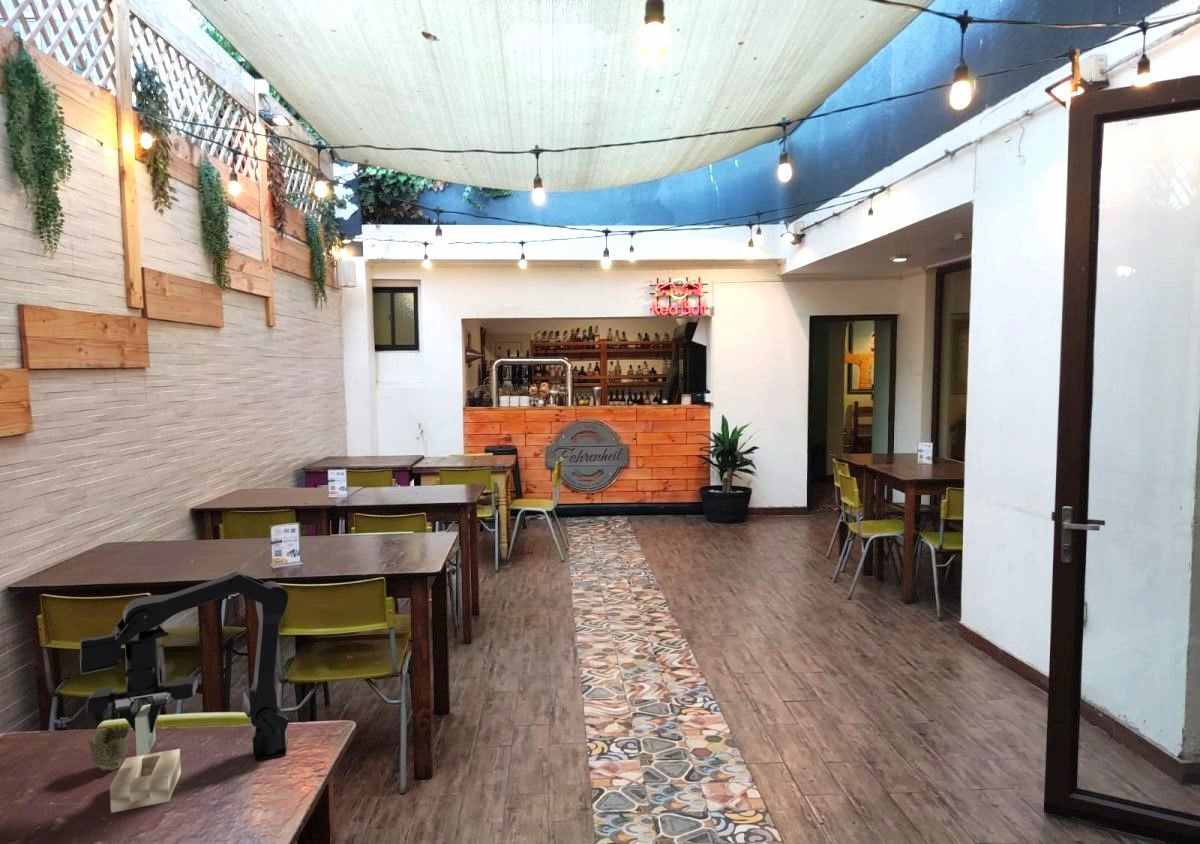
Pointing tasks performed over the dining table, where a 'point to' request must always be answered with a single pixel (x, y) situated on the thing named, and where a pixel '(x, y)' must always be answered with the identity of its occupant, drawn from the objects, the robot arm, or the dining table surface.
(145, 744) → the green rectangular block
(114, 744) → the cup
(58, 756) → the dining table surface
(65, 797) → the dining table surface
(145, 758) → the hollow square frame
